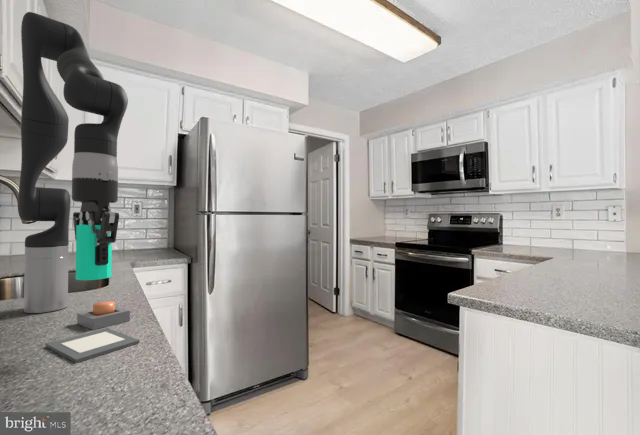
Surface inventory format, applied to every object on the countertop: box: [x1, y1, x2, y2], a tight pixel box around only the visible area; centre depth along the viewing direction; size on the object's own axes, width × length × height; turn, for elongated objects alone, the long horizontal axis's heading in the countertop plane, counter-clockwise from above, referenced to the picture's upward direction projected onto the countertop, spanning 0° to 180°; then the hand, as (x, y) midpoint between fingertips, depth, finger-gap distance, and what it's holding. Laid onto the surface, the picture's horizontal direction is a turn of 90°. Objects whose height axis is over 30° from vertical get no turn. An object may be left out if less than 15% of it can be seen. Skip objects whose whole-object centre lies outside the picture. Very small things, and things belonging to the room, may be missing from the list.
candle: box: [75, 224, 113, 281], centre depth 65 cm, size 6×6×12 cm
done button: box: [92, 300, 116, 316], centre depth 79 cm, size 4×4×3 cm
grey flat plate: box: [45, 327, 140, 364], centre depth 65 cm, size 13×11×1 cm
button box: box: [76, 305, 131, 331], centre depth 78 cm, size 8×8×2 cm
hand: (94, 263), depth 65 cm, fingers closed on candle, 4 cm apart
